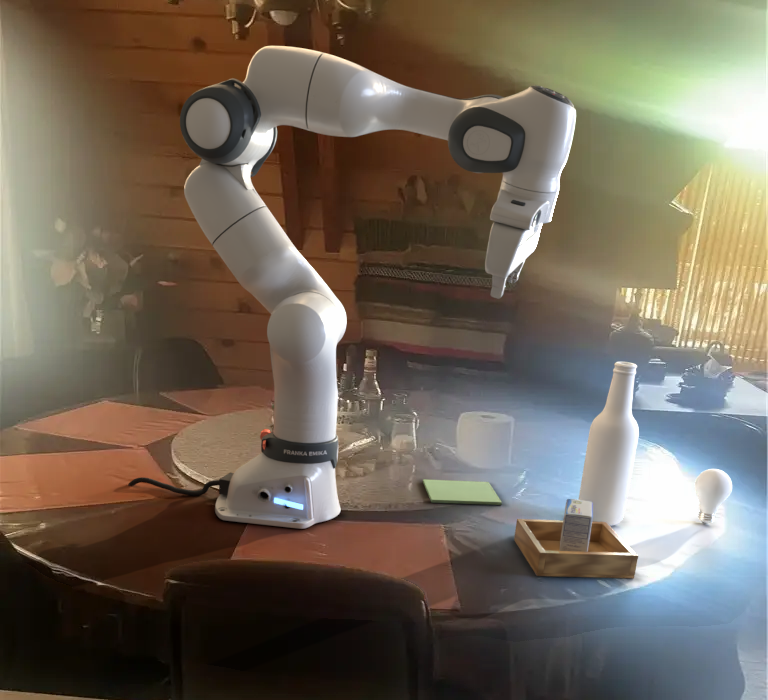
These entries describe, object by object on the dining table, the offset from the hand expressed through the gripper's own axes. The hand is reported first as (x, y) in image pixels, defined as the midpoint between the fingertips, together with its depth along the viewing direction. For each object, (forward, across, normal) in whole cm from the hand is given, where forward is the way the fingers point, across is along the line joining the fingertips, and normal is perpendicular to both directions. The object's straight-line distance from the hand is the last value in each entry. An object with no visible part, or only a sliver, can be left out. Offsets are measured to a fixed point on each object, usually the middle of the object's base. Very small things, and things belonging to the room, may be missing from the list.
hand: (503, 289), depth 125 cm
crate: (+36, +14, +25) cm, 46 cm away
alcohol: (+40, -7, +28) cm, 49 cm away
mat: (+45, -6, +1) cm, 45 cm away
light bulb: (+39, -16, +47) cm, 63 cm away
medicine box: (+36, +14, +25) cm, 46 cm away
